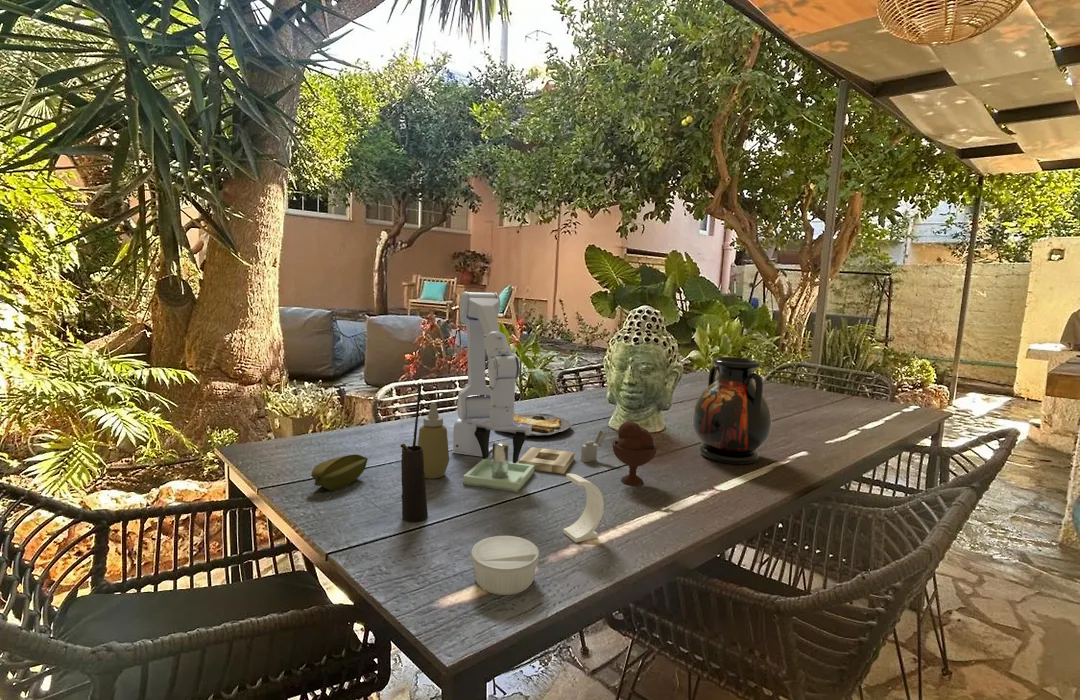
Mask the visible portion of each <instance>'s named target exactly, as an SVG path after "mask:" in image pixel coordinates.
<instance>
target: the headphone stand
mask: <svg viewBox="0 0 1080 700" xmlns="http://www.w3.org/2000/svg"><path fill="white" fill-rule="evenodd" d="M565 478H566V480H568V481H570V482H572V483H573V484H575V485H576V486H578V487H583V486H584V489H585V492H586V493H585V494H586V503H585V508H584V510H583V511H582V513H581V515H580V517H579V518H578V519H577V520H576V521H575V522H574V523H572V524H571V525H570V526H568V527H564V528H563V531H562V533H563V534H564V535H565V536H567V537H568V538H569V539H571V540H572V541H573V542H575V543H579V542H584V541H590V540H593V539H598V536H599V533H598V532H596V531H595V530H596V529H597V527H598V526H599V524H600V522H601V519H602V517H603V513H604V507H605V504H604V496H603V494H602V492H601V491H600V489H599V487H598V486H597V485H595V484H593V482H591V481H589V480H587V479H586V478H584V477H582V476H580V475H579V474H575V473H566V474H565Z"/></svg>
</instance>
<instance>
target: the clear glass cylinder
mask: <svg viewBox="0 0 1080 700" xmlns="http://www.w3.org/2000/svg"><path fill="white" fill-rule="evenodd" d="M492 447H493V450H492V451H491V452H492V453H491V454H492V455H491V456H492V457H491V460H492V477H493V478H497V479H504V478H507V477H508V466H509V462H510V461H509V460H510V443H509V442H507V441H495V442H493V443H492Z"/></svg>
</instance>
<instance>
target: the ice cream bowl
mask: <svg viewBox="0 0 1080 700" xmlns="http://www.w3.org/2000/svg"><path fill="white" fill-rule="evenodd" d="M617 432H618V433H617V435H618V439H615V440H612V450H613V451H612V452H613V454H614V455H615V457H616V458H617V459H618V460H619V461H620V462H621V463H622V464H624V465H626V466H628V468H629V472H628V474H626V475H625V476H624V475H623V476H622V477H621V481H620V482H621V483H622V484H625V485H627V486H642V485H643V484H644V481H643V479H642V478H641V477H640V476H638V475H637V469H638V467H641V466H644V465H645V464H647V463H649V462H651V461H652V460H653V459H654V457H656V452H657V450H658V446H657V444H656V443H654V438H653V436H652V434H651V432H650V431H649V430H648V429H645V427H644V428H643V426H642V427H641V426H640V425H639V423H637V422H634V421H625V422H623V423H621V424H620V426H619V427H618V429H617Z"/></svg>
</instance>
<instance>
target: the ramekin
mask: <svg viewBox="0 0 1080 700" xmlns="http://www.w3.org/2000/svg"><path fill="white" fill-rule="evenodd" d="M470 559H471V561H472V567H473V573H474V579H475V581H476V582H475V583H477V585H478V586H479V587H480V588H481V589H482V590H484V591H485V592H487V593H490V594H492V595H498V596H511V595H516V594H520V593H522V592H524V591H525V590H527V589H528V588H529V587H530V586H531V584H532V583H533V581H534V579H535V574H536V568H537V564H538V562H539V559H540V551H539V548H538V546H537V545H535V543H534V542H532V541H530V540H529V539H525V538H523V537H519V536H513V535H496V536H495V535H494V536H490V537H486V538H483V539H481V540H479V541H478V542H476V543H475V544H474V545H473V547H472V548H471V552H470Z"/></svg>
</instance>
